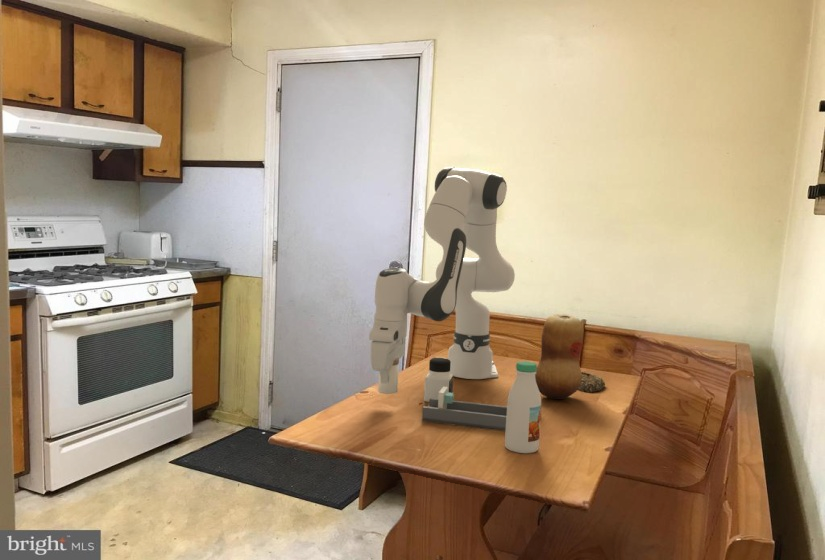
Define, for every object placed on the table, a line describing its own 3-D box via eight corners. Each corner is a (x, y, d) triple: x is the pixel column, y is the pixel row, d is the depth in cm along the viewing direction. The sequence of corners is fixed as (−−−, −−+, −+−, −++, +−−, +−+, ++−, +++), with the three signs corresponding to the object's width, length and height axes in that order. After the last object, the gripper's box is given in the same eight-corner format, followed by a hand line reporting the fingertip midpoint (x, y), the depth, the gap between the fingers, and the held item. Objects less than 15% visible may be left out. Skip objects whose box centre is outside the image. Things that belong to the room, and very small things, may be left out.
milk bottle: (516, 455, 143) (521, 368, 141) (498, 444, 150) (503, 360, 148) (545, 452, 146) (550, 366, 144) (526, 440, 153) (531, 358, 151)
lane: (429, 410, 173) (430, 381, 172) (519, 421, 167) (521, 391, 166) (422, 421, 164) (423, 390, 163) (516, 432, 159) (518, 400, 158)
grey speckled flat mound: (609, 388, 207) (611, 372, 206) (593, 395, 197) (594, 379, 197) (573, 380, 215) (574, 365, 214) (555, 386, 205) (556, 371, 205)
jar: (381, 387, 176) (382, 355, 175) (400, 389, 175) (401, 357, 174) (375, 392, 171) (376, 359, 170) (394, 394, 170) (395, 361, 169)
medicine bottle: (448, 404, 180) (450, 362, 179) (423, 401, 181) (425, 360, 180) (452, 397, 187) (454, 357, 186) (428, 395, 188) (430, 355, 187)
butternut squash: (560, 407, 181) (566, 320, 179) (524, 396, 191) (529, 313, 189) (590, 400, 190) (596, 317, 188) (553, 389, 200) (558, 310, 198)
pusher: (442, 409, 171) (443, 386, 170) (454, 411, 170) (455, 387, 169) (437, 416, 165) (438, 392, 164) (449, 417, 164) (451, 393, 163)
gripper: (389, 321, 182) (388, 369, 184) (367, 335, 162) (365, 388, 164) (411, 323, 180) (409, 371, 182) (391, 337, 161) (388, 391, 162)
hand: (388, 379), depth 173 cm, fingers closed on jar, 5 cm apart
